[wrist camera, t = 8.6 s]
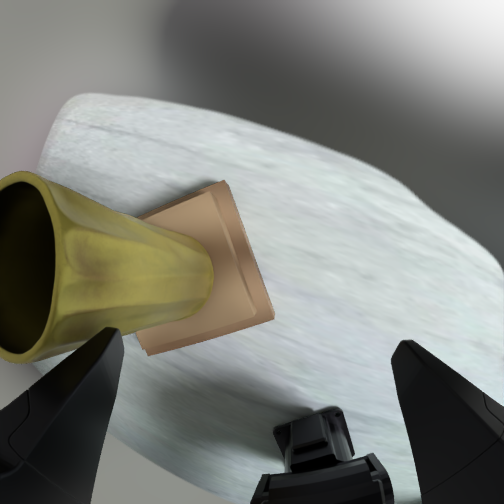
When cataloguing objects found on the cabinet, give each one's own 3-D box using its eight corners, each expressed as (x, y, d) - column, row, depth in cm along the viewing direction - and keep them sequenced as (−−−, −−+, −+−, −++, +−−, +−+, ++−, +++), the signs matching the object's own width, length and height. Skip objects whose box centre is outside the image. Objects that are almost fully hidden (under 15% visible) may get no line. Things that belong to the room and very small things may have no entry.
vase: (211, 228, 20) (87, 126, 5) (218, 319, 19) (95, 401, 5) (131, 237, 20) (-34, 182, 6) (136, 321, 19) (-32, 363, 5)
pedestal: (275, 313, 23) (273, 325, 19) (157, 349, 24) (137, 363, 20) (228, 185, 24) (218, 172, 20) (117, 233, 25) (92, 230, 21)
